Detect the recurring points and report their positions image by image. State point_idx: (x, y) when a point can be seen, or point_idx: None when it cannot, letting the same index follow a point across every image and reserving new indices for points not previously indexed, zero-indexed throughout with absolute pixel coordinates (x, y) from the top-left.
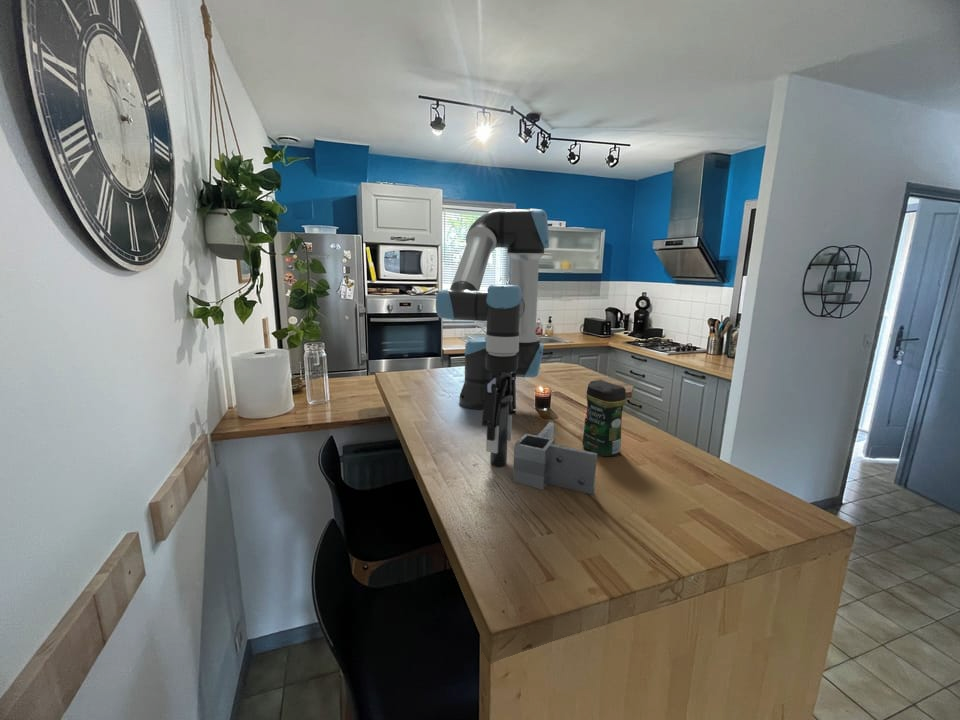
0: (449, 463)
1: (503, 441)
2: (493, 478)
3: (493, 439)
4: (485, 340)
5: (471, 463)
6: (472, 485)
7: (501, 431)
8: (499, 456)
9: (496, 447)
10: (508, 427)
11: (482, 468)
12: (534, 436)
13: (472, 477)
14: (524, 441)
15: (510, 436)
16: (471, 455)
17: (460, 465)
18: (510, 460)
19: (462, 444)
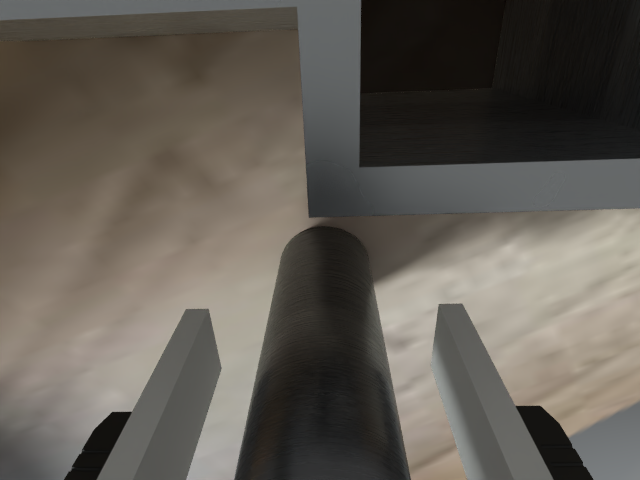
0: (430, 418)
1: (363, 337)
2: (500, 221)
3: (534, 414)
4: None
5: (390, 358)
6: (600, 274)
7: (393, 432)
8: (371, 281)
9: (476, 338)
10: (175, 409)
11: (416, 304)
12: (348, 42)
13: (521, 304)
14: (466, 149)
15: (190, 331)
16: None
17: (428, 383)
18: (258, 226)
19: (240, 447)
